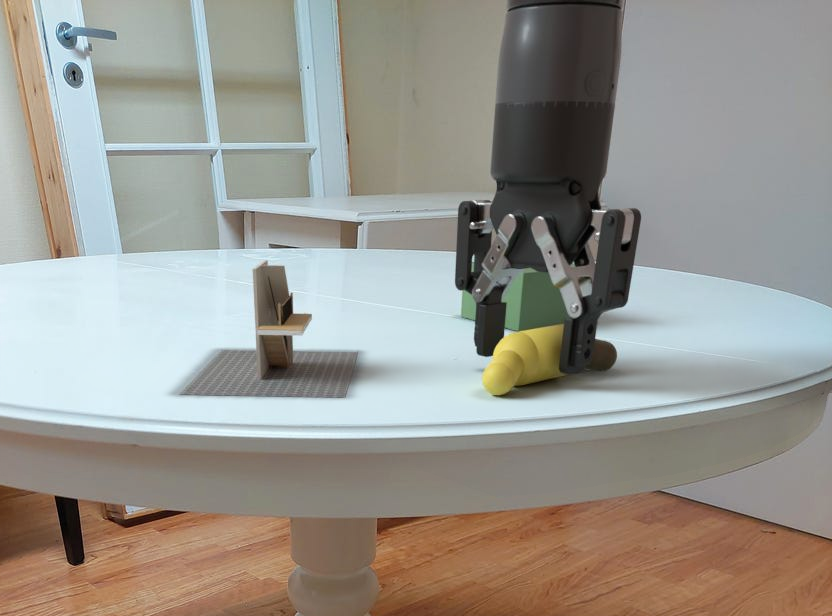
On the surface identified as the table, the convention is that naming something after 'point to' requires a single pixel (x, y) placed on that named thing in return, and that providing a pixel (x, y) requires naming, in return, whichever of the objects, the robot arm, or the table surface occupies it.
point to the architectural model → (275, 352)
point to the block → (526, 302)
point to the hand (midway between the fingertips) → (528, 363)
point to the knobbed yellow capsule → (536, 358)
